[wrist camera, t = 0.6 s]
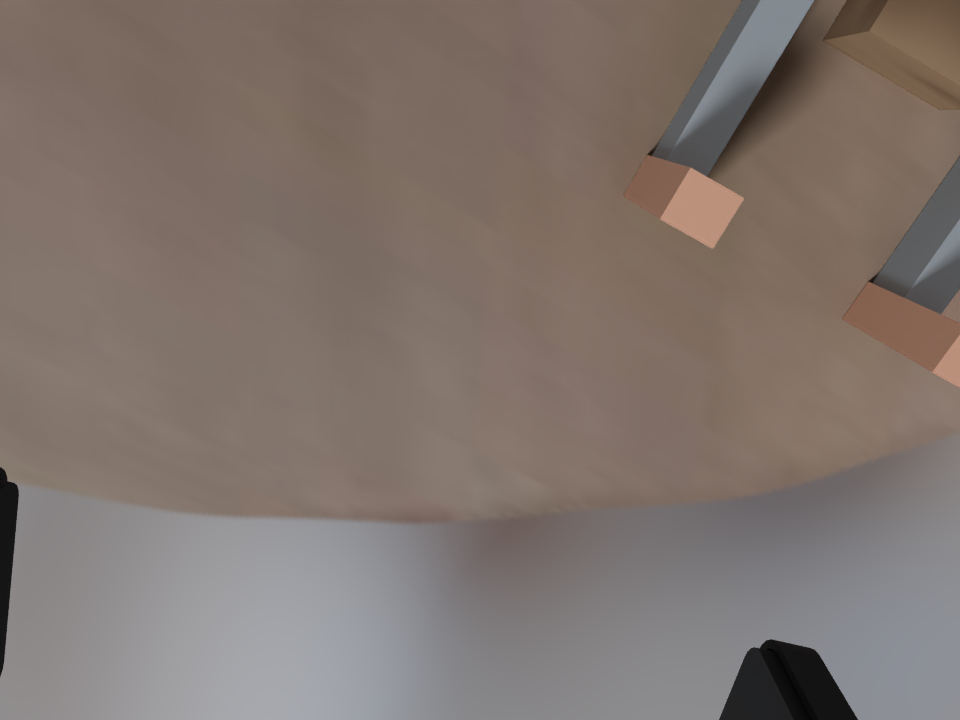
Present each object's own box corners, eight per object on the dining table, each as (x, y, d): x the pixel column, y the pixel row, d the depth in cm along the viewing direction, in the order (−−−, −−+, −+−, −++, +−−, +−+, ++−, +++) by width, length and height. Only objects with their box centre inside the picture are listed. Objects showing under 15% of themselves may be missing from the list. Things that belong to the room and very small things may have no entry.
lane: (749, -22, 34) (826, -59, 26) (1020, 145, 36) (1165, 156, 28) (623, 195, 37) (659, 219, 29) (881, 341, 38) (979, 398, 31)
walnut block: (906, -101, 33) (969, -132, 29) (1025, -25, 34) (1104, -45, 30) (821, 40, 35) (868, 31, 31) (937, 109, 36) (999, 109, 31)
